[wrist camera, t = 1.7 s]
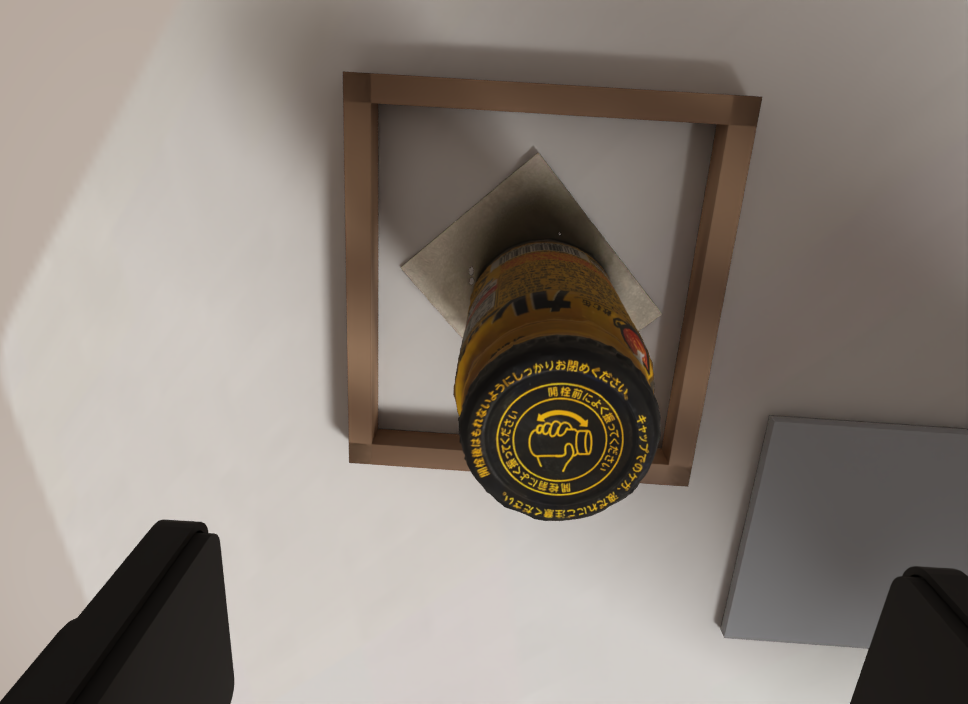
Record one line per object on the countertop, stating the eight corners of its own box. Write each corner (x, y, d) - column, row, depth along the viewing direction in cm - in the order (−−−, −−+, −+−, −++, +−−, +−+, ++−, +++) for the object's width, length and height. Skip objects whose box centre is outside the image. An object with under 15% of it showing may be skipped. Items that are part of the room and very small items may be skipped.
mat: (959, 646, 33) (967, 655, 32) (720, 628, 33) (724, 637, 33) (1042, 434, 29) (1053, 440, 28) (769, 415, 29) (774, 421, 29)
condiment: (526, 409, 30) (535, 593, 18) (401, 266, 28) (324, 374, 16) (661, 312, 28) (763, 450, 17) (538, 151, 26) (558, 183, 14)
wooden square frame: (679, 469, 30) (688, 486, 29) (356, 446, 30) (349, 462, 29) (747, 97, 25) (762, 96, 23) (352, 73, 25) (342, 71, 24)
